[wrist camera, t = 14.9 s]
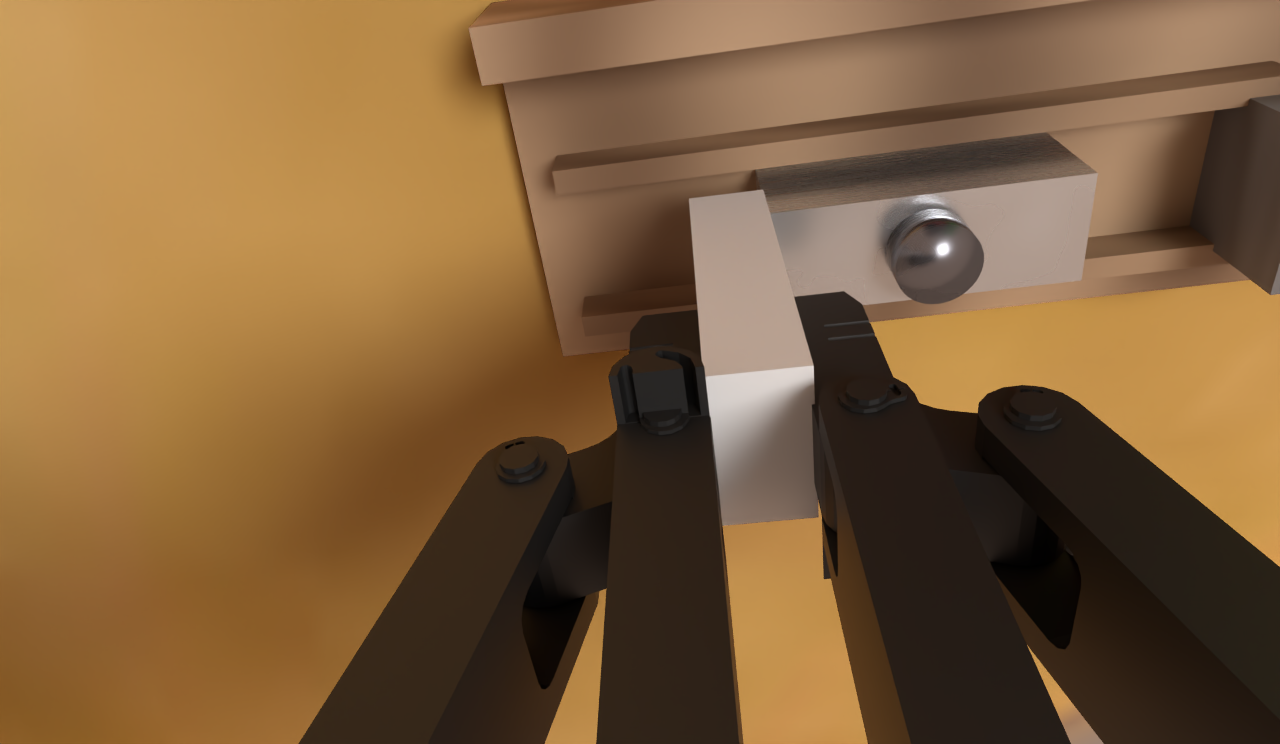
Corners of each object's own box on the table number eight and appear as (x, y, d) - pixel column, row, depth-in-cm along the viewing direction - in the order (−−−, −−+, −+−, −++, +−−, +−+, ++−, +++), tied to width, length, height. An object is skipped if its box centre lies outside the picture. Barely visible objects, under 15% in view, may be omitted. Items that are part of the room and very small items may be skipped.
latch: (761, 262, 19) (779, 334, 17) (755, 169, 18) (773, 230, 15) (1033, 229, 19) (1099, 299, 16) (1045, 131, 18) (1117, 188, 15)
